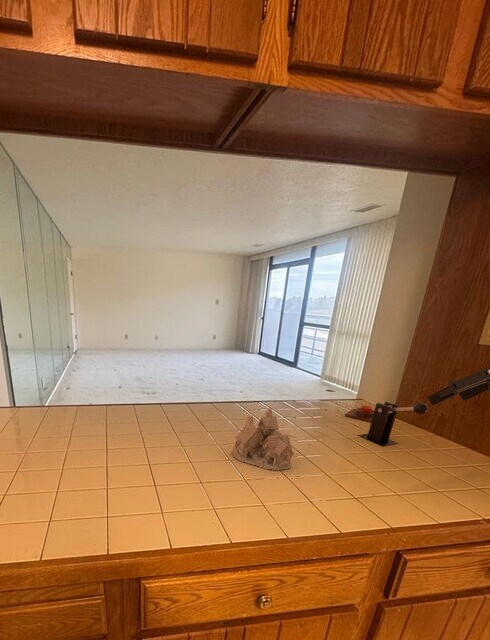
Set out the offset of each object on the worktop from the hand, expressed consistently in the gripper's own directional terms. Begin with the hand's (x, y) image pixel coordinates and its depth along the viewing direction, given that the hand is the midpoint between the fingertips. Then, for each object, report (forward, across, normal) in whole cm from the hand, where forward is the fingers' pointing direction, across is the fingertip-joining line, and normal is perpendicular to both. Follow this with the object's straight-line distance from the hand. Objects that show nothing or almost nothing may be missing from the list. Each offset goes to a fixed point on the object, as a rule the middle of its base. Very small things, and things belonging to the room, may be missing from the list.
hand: (446, 398), depth 98 cm
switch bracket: (+26, 0, +3) cm, 26 cm away
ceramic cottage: (+28, +47, +1) cm, 55 cm away
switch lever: (+13, 0, -1) cm, 13 cm away
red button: (+36, -15, -13) cm, 41 cm away
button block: (+39, -15, -10) cm, 43 cm away
